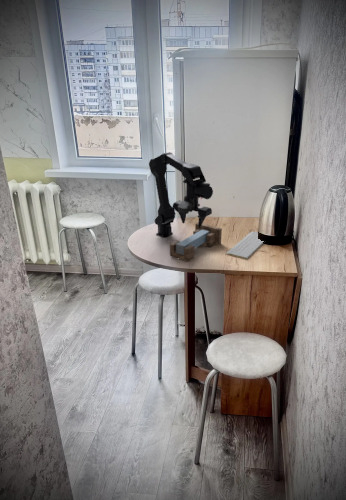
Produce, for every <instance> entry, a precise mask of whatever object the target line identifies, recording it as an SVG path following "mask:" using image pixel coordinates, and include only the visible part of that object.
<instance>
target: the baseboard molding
mask: <svg viewBox="0 0 346 500" xmlns="http://www.w3.org/2000/svg"><path fill="white" fill-rule="evenodd" d="M252 230H253V229H251V230H249V233H248V234H247V235H245V236H244V237H243V238H242V239H241V240H240V241H238V242H237V243H236V244H234V246H232V247H231V248H230V249H229V250H228V251H227V252H225V255H228V256H232V257H235V258H239V259H243V260H248V259H249V257H250V256H252V254H254V253H255V251H257V250H258V248H260V247H261V246H262V245H263V244H264V243H265V242H264V241H261V240H260V239H258V232H259V231H255V230H253V231H252ZM263 242H264V243H263Z"/></svg>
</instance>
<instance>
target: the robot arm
mask: <svg viewBox="0 0 346 500" xmlns="http://www.w3.org/2000/svg"><path fill="white" fill-rule="evenodd" d="M167 165H169V166H170V167H172V168H174V169H176V170H177V171H179V172H180V173H181V176H182V177H183V178H184V180H183V181H182V183H184V184H186V185H185V186H186V187H185V189H186V190H185V196H184V197H183V200H177V201H175V202H173V204H172V205H171V204H170V198H169V192H168V188H167V180H166V174H167V170H168V166H167ZM148 166H149V170H150V173H151V174H152V175H153V176H154V178H155V185H156V190H157V191H156V193H157V197H158V203H159V207H158V210H157V216H156V218H155V219H154V223H155V224H154V225H156V226H157V233H156V234H155V235H157V236H160V237H164V238H166V237H169V236H170V235H173V232H172V223H174V221H175V218H176V212H177V213H178V214H179V217H180V220H181V222H182V224H185V222H186V217H187V214H189V212H190V213H192V212H197V214H198V215H197V219H198V222H197V223H198V227H199V228H200V227H201V225H202V224H204V221H205V219H206V218H207V217H209V216H210V215H212V213H213V209H212V208H211V207H208V206H203V207H200V206H201V205H200V203H199V199H200V198H202V199H205V200H210V199H211V198H212V196H213V194H214V190H213V187H212V186H211V184H210V183H209V182H206V181H207V180H206V178H205V175H204V172H203V171H202V168H201V167H200V166H199V165H197V164H194V163H188V162H186V161H184V160H183V159H181V158H179V157H177V156H176V155H174V154H173V153H172V152H163V153H162V154H160V155H158V156H156V157H155V158H151V159H150V160H149V161H148Z"/></svg>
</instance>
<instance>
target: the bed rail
mask: <svg viewBox="0 0 346 500" xmlns="http://www.w3.org/2000/svg"><path fill="white" fill-rule="evenodd" d="M208 234H210V231H207V230H203V229H202V230H200V231H199V232H197V233H195V234H193V233H192V235H190V236H188V237H187V238H185V239H183V240H181V241H179V243H177V244H176V253H178V254H181V255H184V248H186V247H188V246H189V245H193V246H194V250H195V249H196V248H198V247H199V246H202V245H201V244H203V243H204V242H206V241H207V235H208Z"/></svg>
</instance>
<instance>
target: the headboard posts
mask: <svg viewBox="0 0 346 500" xmlns="http://www.w3.org/2000/svg"><path fill="white" fill-rule="evenodd" d="M194 229H195V230H194V231H192V235H193V234H195V233H197V232H199V231H200V230H202V229H203V230H207V231H210V234H208V235H207V241H206V242H204V243H203V244H201V245H200V246H205V247H208V248H212V247H213V246H215V245H217V246H219V245H221V244H222V236H223V235H222V231H223V228H221V227H217V226H213V225H209V224H205V223H202V225H201V227H200V228H199V227H198V222H196V223H195V228H194ZM179 242H180V241H179V240H175V241H173V242H171V243H170V244H169V256H170V257H171V256H172V258H174V259H178V258H179V259H178V260H181V259H182V261H183V262H190V261H192V260H193V259H195V249H194V246H193V245H189V246H188V247H186V248H184V255H181V254H178V253H176V244H177V243H179Z"/></svg>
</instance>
